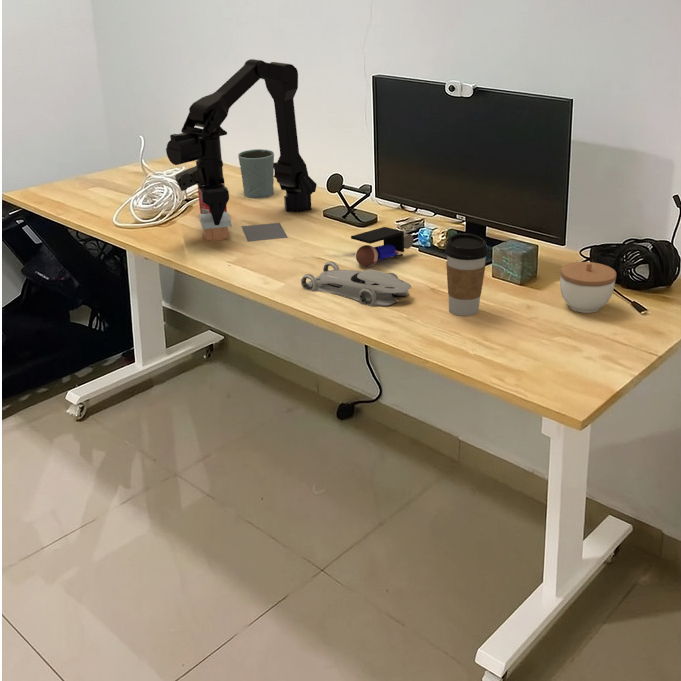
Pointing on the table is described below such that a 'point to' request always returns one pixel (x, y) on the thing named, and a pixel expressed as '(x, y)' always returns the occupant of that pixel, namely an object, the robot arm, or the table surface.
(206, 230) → the terracotta faceted pot
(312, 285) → the car model
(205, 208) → the soda can
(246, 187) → the grey-green tapered open cylinder
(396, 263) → the table surface
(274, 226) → the mat
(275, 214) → the table surface
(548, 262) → the table surface
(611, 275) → the lidded jar
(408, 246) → the figurine character
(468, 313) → the coffee cup
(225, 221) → the lid
